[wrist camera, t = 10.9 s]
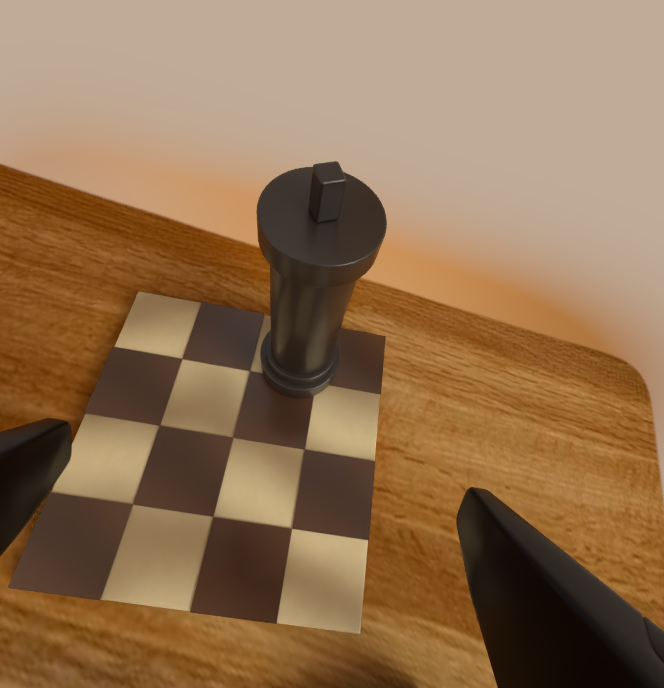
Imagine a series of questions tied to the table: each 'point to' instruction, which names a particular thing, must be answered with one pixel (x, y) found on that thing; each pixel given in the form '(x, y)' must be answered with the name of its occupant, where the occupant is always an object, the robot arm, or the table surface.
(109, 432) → the chessboard
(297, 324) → the chess king
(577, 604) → the robot arm
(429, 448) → the table surface
